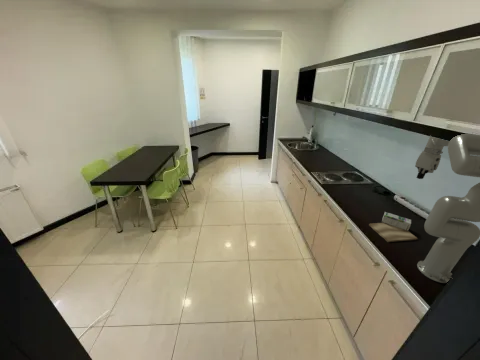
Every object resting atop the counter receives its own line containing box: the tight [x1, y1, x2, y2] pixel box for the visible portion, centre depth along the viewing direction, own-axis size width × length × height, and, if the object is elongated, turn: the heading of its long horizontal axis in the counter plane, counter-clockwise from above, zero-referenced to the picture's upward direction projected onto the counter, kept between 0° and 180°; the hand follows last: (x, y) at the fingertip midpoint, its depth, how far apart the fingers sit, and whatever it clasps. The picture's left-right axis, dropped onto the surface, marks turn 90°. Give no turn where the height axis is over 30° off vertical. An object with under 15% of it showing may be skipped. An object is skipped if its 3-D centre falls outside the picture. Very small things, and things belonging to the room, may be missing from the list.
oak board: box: [368, 222, 418, 243], centre depth 127 cm, size 16×20×1 cm
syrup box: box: [381, 211, 412, 231], centre depth 131 cm, size 6×6×14 cm
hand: (419, 178), depth 126 cm, fingers closed
